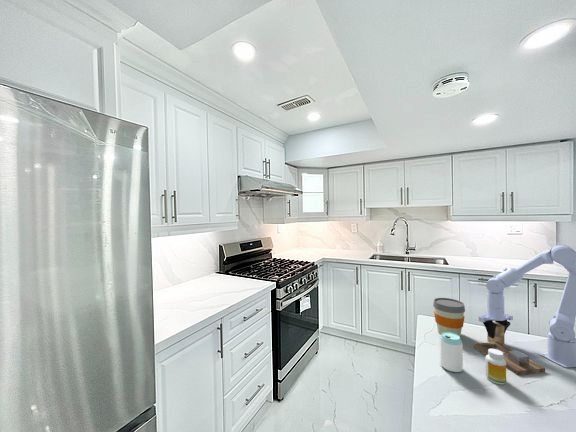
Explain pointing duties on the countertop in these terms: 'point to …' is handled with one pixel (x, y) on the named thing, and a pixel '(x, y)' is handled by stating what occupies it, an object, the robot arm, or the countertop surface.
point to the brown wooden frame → (510, 365)
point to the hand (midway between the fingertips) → (495, 336)
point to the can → (451, 352)
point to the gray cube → (518, 358)
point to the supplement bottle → (495, 366)
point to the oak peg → (497, 334)
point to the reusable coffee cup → (449, 315)
